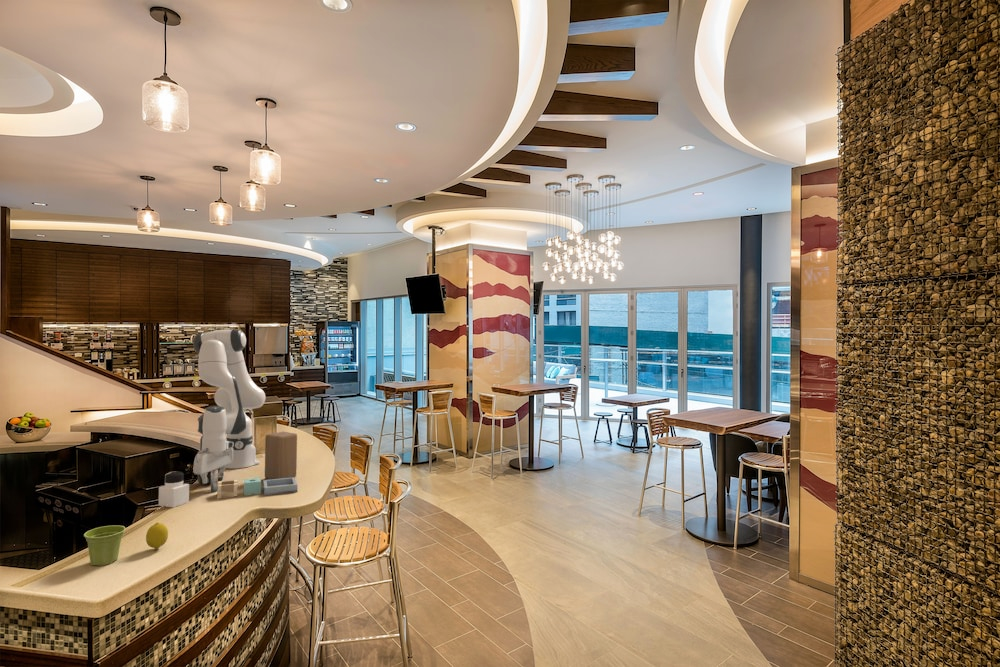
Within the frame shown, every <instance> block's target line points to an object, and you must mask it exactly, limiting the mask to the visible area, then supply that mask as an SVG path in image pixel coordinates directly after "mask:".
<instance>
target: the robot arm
mask: <svg viewBox="0 0 1000 667" xmlns="http://www.w3.org/2000/svg"><path fill="white" fill-rule="evenodd" d="M192 345H193V350H194V351H195V353H196V354H198V361H197V362H198V364H197V368H198V376H199V378H200V380H202V381H203V382H204V383H206V384H207V385H209V386H212V387H216V388H217V389H216V391H215V393H214V397H213V399H214V402H215V404H216V405H212V406H208V407H206V408H205V409H204V411H203V412H204V413H202V414H201V415H200V416H199V417H198V418H197V422H198V428H197V433H199V434H201V436H202V435H203V438H202V450H200V449H199V450H198V451H197V454H195V457H194V461H193V466H192V467H193V468H192V469H193V471H192V473H194V475H198V474H200V476H201V478H202V483H203V484H206V483H208V482H209V478H207V474H208V472H210V471H212V470H215V469H218V468H220V470H219V473H218V477H220V478H221V477H223V478H224V476H225V471H226V469H242V468H249V467H253V466H254V465H259V464H260V463H261V461H260V460H258V459H257V457H256V456H257V452H256V449H257V448H256V446H254V445H253V444H254V443H253V440H254V438H253V435H252V434H253V432H252V431H253V425H252V424H253V421H252V419H251V418H250V417H249V416H248V415H247V414H246V413H245V410H255V409H260V408H262V406H264V404H265V402H266V393H265V391H264V390H263V389H262V388H260V387H259V386H258V385H257V383H255V382H254V380H253V379H252V378H251V376H250V374H249V372H248V368H247V366H246V362H245V357H244V353H243V350H244V349H245V348H246V346H247V337H246V333H245V332H244V331H243V330H241V329H239V328H238V329H237V328H233V329H217V330H212V331H206V332H200V333H198V334H196V335H195V336H194V337H193V341H192Z"/></svg>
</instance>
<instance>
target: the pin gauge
mask: <svg viewBox="0 0 1000 667" xmlns="http://www.w3.org/2000/svg"><path fill="white" fill-rule="evenodd" d="M217 492H218V469H215V470H212V471H211V485H210V493H217Z"/></svg>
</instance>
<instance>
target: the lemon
mask: <svg viewBox="0 0 1000 667" xmlns="http://www.w3.org/2000/svg"><path fill="white" fill-rule="evenodd" d="M168 536H169V531H168V528H167V526H166V525H165V524H163V523H161V522H155V523H154V524H152V525H151V526H150V527H149V528H148V529H147V532H146V535H145V541H146V544H147V545H148V547H150V548H153V549H155V550H159V548H161V547H162V546H164V545H165V544H166V542H167V540H168Z"/></svg>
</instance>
